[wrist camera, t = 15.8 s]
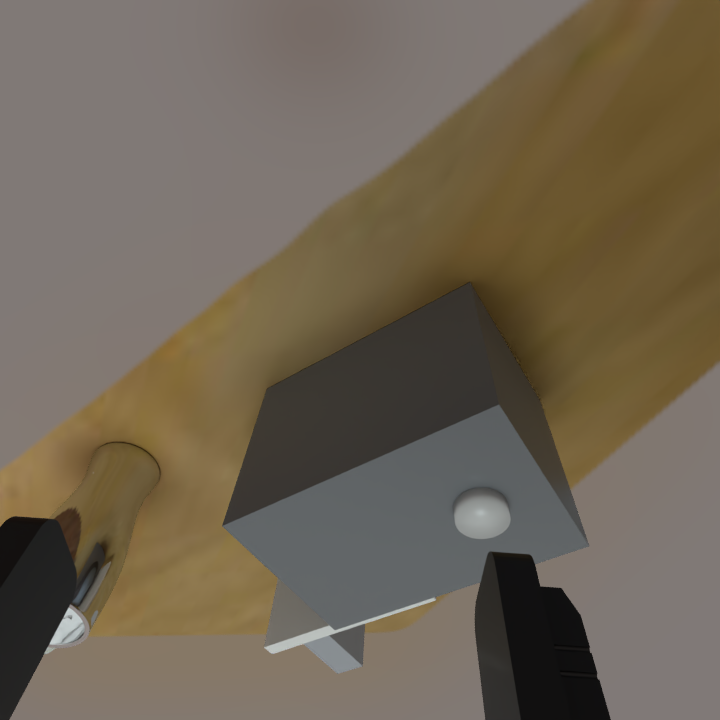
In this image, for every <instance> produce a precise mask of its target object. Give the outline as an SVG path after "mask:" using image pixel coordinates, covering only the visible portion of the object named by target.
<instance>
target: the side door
mask: <svg viewBox="0 0 720 720" xmlns="http://www.w3.org/2000/svg"><path fill="white" fill-rule="evenodd" d="M435 600H436V597H434V598H431V599H428V600H425V601H422V602H419V603H416V604H413V605H410V606H407V607H404V608H401V609H398V610H395V611H392V612H389V613H386V614H383V615H380V616H377V617H374V618H371V619H368V620H365V621H362V622H359V623H356V624H353V625H350V626H347V627H344V628H341V629H338V630H334V629H333V628H332V627H331V626H330V625H328V624H327V623H326V622H325V621H324V620H323V619H322V618H321V617H320V616H319V615H318V614H317V613H316V612H314V611H313V610H312V609H311V608H310V607H309V606H308V605H307V604H306V603H305V602H304V601H303V600H301V599H300V598H299V597H298V596H297V595H296V594H295V593H294V592H293V591H292V590H291V589H290V588H288V587H287V586H286V585H285V584H284V583H283V582H282V581H281V580H280V579H279V578H278V581H277V586H276V591H275V596H274V601H273V606H272V610H271V615H270V620H269V625H268V630H267V635H266V640H265V645H264V648H265V649H267V650H268V651H269V652H270V653H272V654H274V653H277V652H280V651H283V650H286V649H289V648H292V647H295V646H298V645H301V644H304V645H305V646H306V647H307V648H309V649H310V650H311V651H312V652H313V653H314V654H315V655H317V656H318V657H319V658H320V659H321V660H322V661H324V662H325V663H326V664H327V665H328V666H329V667H331V668H332V669H333V670H334V671H335V672H336V673H341V672H345V671H348V670H351V669H355V668H358V667H361V666H363V648H364V631H365V623H368V622H371V621H374V620H377V619H380V618H383V617H386V616H390V615H393V614H396V613H399V612H402V611H405V610H408V609H411V608H414V607H417V606H420V605H423V604H426V603H429V602H432V601H435Z"/></svg>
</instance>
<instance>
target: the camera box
mask: <svg viewBox="0 0 720 720" xmlns="http://www.w3.org/2000/svg"><path fill="white" fill-rule="evenodd" d="M222 526H223V527H224V528H225V529H226V530H227V531H228V532H229V533H230V534H231V535H232V536H233V537H234V538H236V539H237V540H238V541H239V542H240V543H241V544H242V545H243V546H244V547H245V548H246V549H247V550H249V551H250V552H251V553H252V554H253V555H254V556H255V557H256V558H257V559H258V560H259V561H260V562H261V563H263V564H264V565H265V566H266V567H267V568H268V569H269V570H270V571H271V572H272V573H273V574H274V575H276V576H277V577H278V578H279V579H280V580H281V581H282V582H283V583H284V584H285V585H286V586H287V587H288V588H290V589H291V590H292V591H293V592H294V593H295V594H296V595H297V596H298V597H299V598H300V599H301V600H303V601H304V602H305V603H306V604H307V605H308V606H309V607H310V608H311V609H312V610H313V611H314V612H316V613H317V614H318V615H319V616H320V617H321V618H322V619H323V620H324V621H325V622H326V623H327V624H328V625H330V626H331V627H332V628H333V629H334V630H338V629H341V628H344V627H347V626H350V625H353V624H356V623H359V622H362V621H365V620H368V619H371V618H374V617H377V616H380V615H383V614H386V613H389V612H392V611H395V610H398V609H401V608H404V607H407V606H410V605H413V604H416V603H419V602H422V601H425V600H428V599H431V598H434V597H437V596H440V595H443V594H446V593H449V592H452V591H455V590H458V589H461V588H464V587H467V586H470V585H473V584H476V583H480V582H481V578H482V574H483V570H484V566H485V562H486V558H487V555H488V553H489V552H490V551H491V552H505V553H519V554H530V555H531V556H532V558H533V560H534V563H535V564H537V563H540V562H543V561H546V560H549V559H552V558H555V557H558V556H561V555H564V554H567V553H570V552H573V551H576V550H579V549H582V548H585V547H588V546H589V544H588V541H587V538H586V535H585V532H584V529H583V526H582V523H581V520H580V517H579V514H578V511H577V508H576V505H575V503H574V499H573V496H572V494H571V490H570V488H569V485H568V482H567V479H566V476H565V473H564V470H563V467H562V464H561V461H560V458H559V455H558V452H557V449H556V446H555V443H554V440H553V437H552V434H551V431H550V429H549V426H548V423H547V420H546V417H545V414H544V411H543V408H542V405H541V402H540V400H539V398H538V397H537V395H536V393H535V391H534V390H533V388H532V386H531V385H530V383H529V381H528V380H527V378H526V376H525V375H524V373H523V371H522V369H521V368H520V366H519V364H518V363H517V361H516V359H515V358H514V356H513V354H512V352H511V351H510V349H509V347H508V346H507V344H506V342H505V341H504V339H503V337H502V336H501V334H500V332H499V330H498V329H497V327H496V325H495V324H494V322H493V320H492V319H491V317H490V315H489V314H488V312H487V310H486V308H485V307H484V305H483V303H482V302H481V300H480V298H479V297H478V295H477V293H476V292H475V290H474V288H473V286H472V285H471V283H470V282H469V283H467V284H465V285H463V286H462V287H460V288H458V289H456V290H454V291H452V292H450V293H448V294H446V295H444V296H443V297H441V298H439V299H437V300H435V301H433V302H431V303H429V304H427V305H425V306H424V307H422V308H420V309H418V310H416V311H414V312H412V313H410V314H408V315H406V316H405V317H403V318H401V319H399V320H397V321H395V322H393V323H391V324H389V325H387V326H386V327H384V328H382V329H380V330H378V331H376V332H374V333H372V334H370V335H368V336H367V337H365V338H363V339H361V340H359V341H357V342H355V343H353V344H351V345H349V346H348V347H346V348H344V349H342V350H340V351H338V352H336V353H334V354H332V355H330V356H329V357H327V358H325V359H323V360H321V361H319V362H317V363H315V364H313V365H311V366H310V367H308V368H306V369H304V370H302V371H300V372H298V373H296V374H294V375H292V376H291V377H289V378H287V379H285V380H283V381H281V382H279V383H277V384H275V385H273V386H271V387H270V388H268V389H267V390H266V393H265V396H264V400H263V403H262V406H261V409H260V412H259V415H258V418H257V421H256V424H255V427H254V430H253V433H252V436H251V439H250V442H249V445H248V449H247V452H246V455H245V458H244V461H243V464H242V467H241V470H240V473H239V476H238V479H237V482H236V485H235V488H234V491H233V494H232V498H231V501H230V504H229V507H228V510H227V513H226V516H225V519H224V522H223V525H222Z"/></svg>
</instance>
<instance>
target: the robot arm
mask: <svg viewBox="0 0 720 720" xmlns="http://www.w3.org/2000/svg"><path fill="white" fill-rule="evenodd" d="M76 584H77V571H76V567H75V564H74V562H73V559H72V556H71V553H70V551H69V548H68V545H67V542H66V539H65V537H64V534H63V531H62V528H61V526H60V524H59V522H58V521H57V520H55V519H45V518H31V517H17V516H15V517H11V518H9V519H8V520H6V521H5V522H4V523H3V524H2V526H1V527H0V720H9V719H10V717H11V715H12V714H13V712H14V710H15V708H16V706H17V704H18V702H19V700H20V698H21V697H22V695H23V693H24V691H25V689H26V687H27V685H28V683H29V681H30V680H31V678H32V676H33V674H34V672H35V670H36V668H37V666H38V665H39V663H40V661H41V659H42V657H43V655H44V653H45V651H46V649H47V648H48V646H49V644H50V642H51V640H52V638H53V636H54V634H55V632H56V631H57V629H58V627H59V625H60V623H61V621H62V619H63V617H64V615H65V614H66V612H67V610H68V608H69V606H70V604H71V602H72V599H73V597H74V593H75V590H76ZM475 634H476V644H477V652H478V661H479V669H480V677H481V686H482V695H483V703H484V712H485V720H611V719H610V716H609V712H608V709H607V705H606V702H605V698H604V695H603V692H602V688H601V684H600V681H599V680H598V679H597V671H596V667H595V664H594V660H593V657H592V653H590V650H589V648H590V646H589V643H588V640H587V636H586V632H585V629H584V625H583V622H582V618H581V615H580V614H579V613H578V611H577V610H576V608H575V607H574V605H573V604H572V603H571V601H570V600H569V598H568V597H567V596H566V594H565V593H564V591H563V590H562V589H561V588H553V587H540V584H539V579H538V575H537V571H536V567H535V563H534V560H533V558H532V556H531V555H530V554H519V553H505V552H491V551H490V552H489V553H488V555H487V558H486V562H485V566H484V570H483V574H482V578H481V583H480V587H479V591H478V595H477V600H476V607H475Z"/></svg>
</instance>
